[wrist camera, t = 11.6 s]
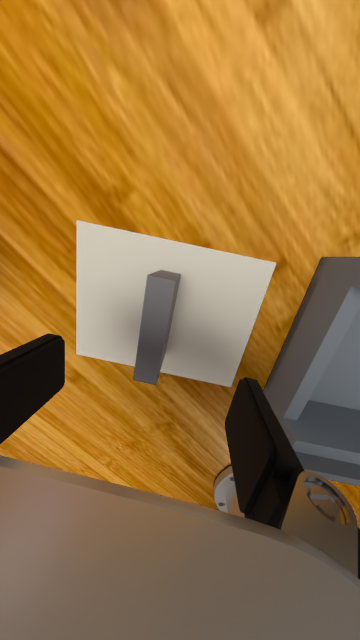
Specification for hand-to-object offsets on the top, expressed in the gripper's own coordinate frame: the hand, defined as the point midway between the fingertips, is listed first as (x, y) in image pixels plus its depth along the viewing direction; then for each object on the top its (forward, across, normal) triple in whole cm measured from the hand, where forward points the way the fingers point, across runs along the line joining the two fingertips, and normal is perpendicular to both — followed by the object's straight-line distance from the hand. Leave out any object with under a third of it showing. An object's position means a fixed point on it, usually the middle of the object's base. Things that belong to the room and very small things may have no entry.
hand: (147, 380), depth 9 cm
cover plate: (+9, +1, -1) cm, 9 cm away
